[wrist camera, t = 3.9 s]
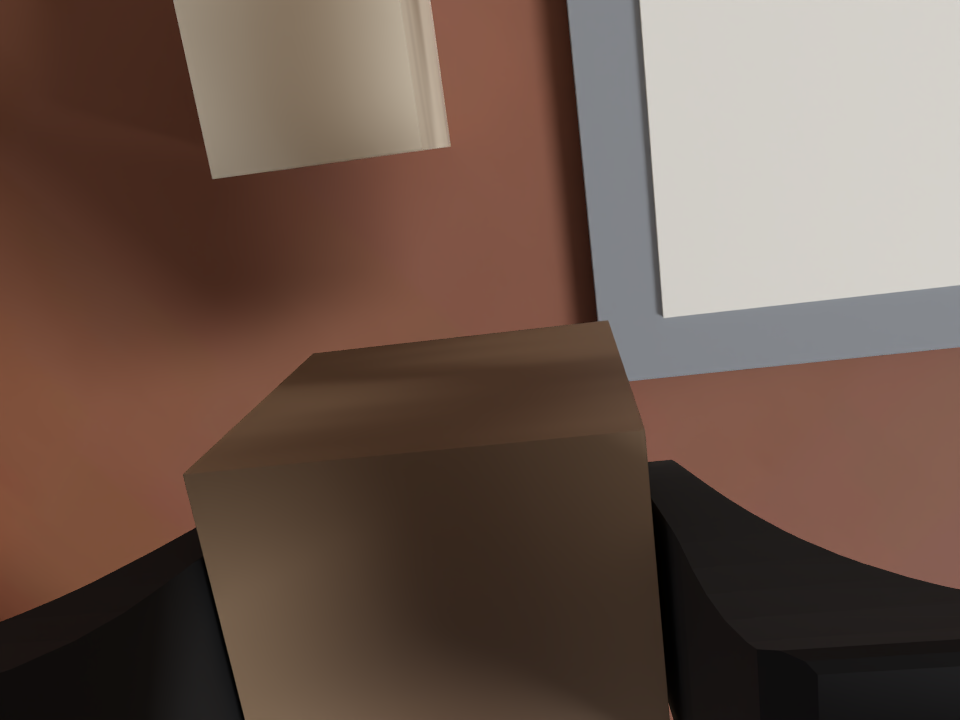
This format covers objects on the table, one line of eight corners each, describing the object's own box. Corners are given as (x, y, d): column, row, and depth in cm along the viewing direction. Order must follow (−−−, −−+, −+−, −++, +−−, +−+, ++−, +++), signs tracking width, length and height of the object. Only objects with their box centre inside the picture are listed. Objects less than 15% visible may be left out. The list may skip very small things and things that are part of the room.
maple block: (288, 169, 19) (212, 179, 15) (253, -10, 18) (161, -56, 14) (451, 146, 19) (421, 149, 14) (425, -38, 17) (385, -96, 13)
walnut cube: (363, 609, 15) (275, 838, 10) (313, 353, 13) (183, 475, 9) (634, 589, 14) (677, 823, 9) (608, 320, 13) (645, 429, 8)
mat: (602, 375, 20) (605, 385, 19) (560, -63, 17) (560, -71, 16) (1029, 331, 19) (1048, 340, 18) (1054, -146, 16) (1078, -159, 15)
